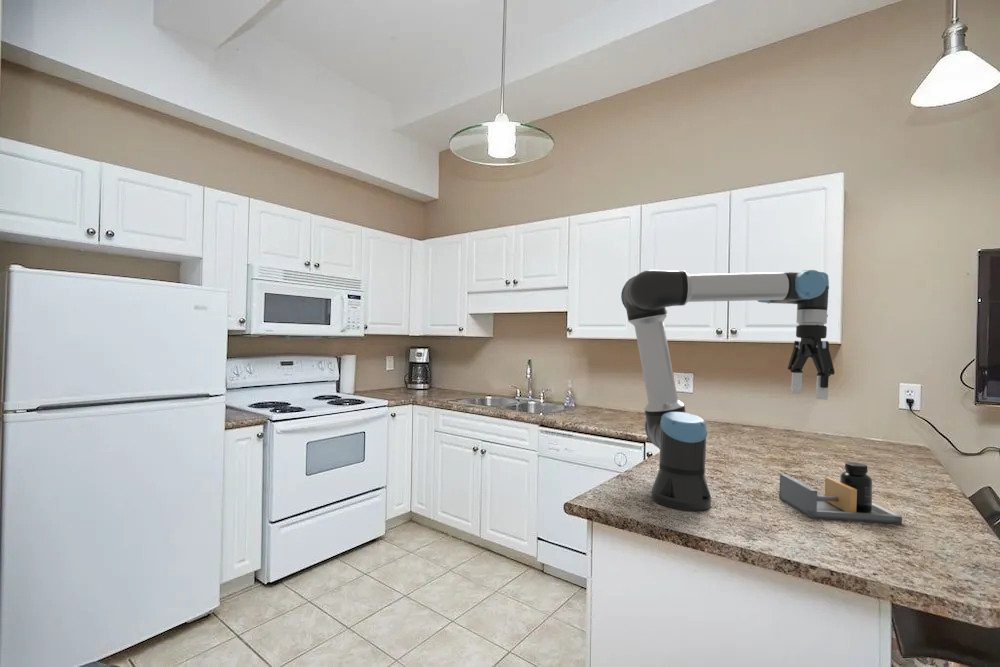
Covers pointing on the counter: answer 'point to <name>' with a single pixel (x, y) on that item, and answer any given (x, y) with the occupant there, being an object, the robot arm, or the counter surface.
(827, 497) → the pusher
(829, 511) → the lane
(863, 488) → the supplement bottle
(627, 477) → the counter surface
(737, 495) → the counter surface
